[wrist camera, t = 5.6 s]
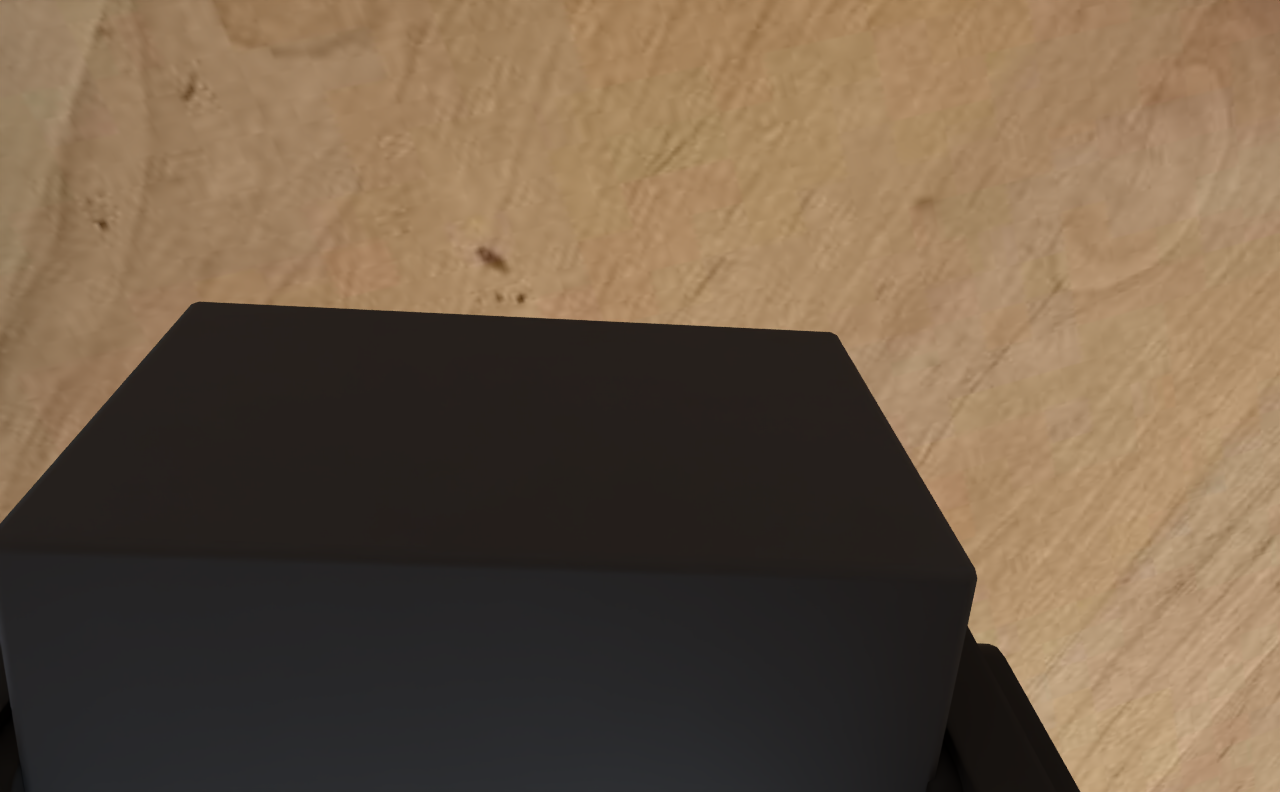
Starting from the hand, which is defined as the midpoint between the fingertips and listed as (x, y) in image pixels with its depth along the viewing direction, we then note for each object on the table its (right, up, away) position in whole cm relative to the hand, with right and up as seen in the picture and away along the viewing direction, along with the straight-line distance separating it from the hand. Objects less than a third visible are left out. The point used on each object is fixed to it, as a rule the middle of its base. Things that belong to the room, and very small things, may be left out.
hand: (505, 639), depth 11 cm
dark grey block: (0, 0, 0) cm, 0 cm away
